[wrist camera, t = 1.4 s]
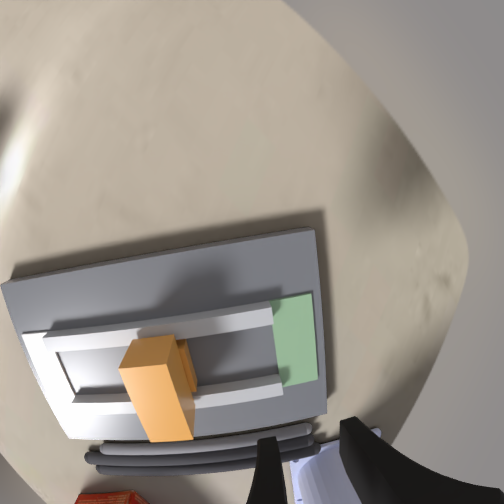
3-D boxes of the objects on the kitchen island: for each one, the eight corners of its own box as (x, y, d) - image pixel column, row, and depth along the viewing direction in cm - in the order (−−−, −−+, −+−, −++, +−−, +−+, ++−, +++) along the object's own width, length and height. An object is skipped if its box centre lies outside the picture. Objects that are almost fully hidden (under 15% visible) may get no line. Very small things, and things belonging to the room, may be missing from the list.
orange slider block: (201, 392, 19) (198, 439, 14) (156, 397, 18) (145, 442, 14) (181, 323, 18) (172, 363, 13) (132, 329, 17) (112, 369, 13)
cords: (318, 446, 22) (322, 456, 21) (96, 467, 21) (93, 476, 20) (317, 416, 22) (322, 426, 20) (78, 439, 20) (74, 449, 19)
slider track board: (322, 403, 21) (331, 422, 19) (73, 429, 20) (64, 446, 18) (308, 226, 18) (320, 232, 16) (9, 279, 17) (-9, 289, 15)
